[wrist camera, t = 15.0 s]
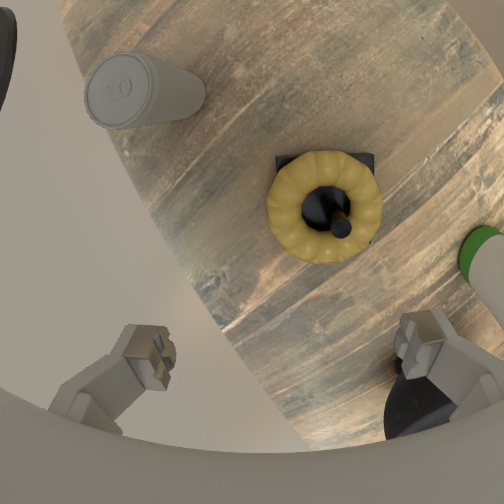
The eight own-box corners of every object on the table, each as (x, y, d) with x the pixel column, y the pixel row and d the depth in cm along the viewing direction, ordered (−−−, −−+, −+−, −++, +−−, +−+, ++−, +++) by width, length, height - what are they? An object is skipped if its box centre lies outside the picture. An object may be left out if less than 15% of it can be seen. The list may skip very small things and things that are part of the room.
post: (282, 243, 29) (284, 284, 23) (275, 155, 25) (275, 172, 18) (367, 238, 28) (390, 276, 21) (370, 152, 24) (400, 168, 17)
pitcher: (349, 373, 38) (370, 560, 12) (450, 276, 29) (557, 482, 3) (410, 394, 41) (440, 532, 15) (493, 319, 32) (563, 461, 6)
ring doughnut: (272, 256, 28) (271, 272, 26) (262, 152, 23) (260, 157, 21) (372, 250, 27) (381, 265, 24) (376, 148, 22) (388, 153, 20)
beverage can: (155, 78, 22) (78, 67, 11) (204, 66, 21) (149, 37, 10) (162, 124, 24) (88, 140, 13) (210, 114, 23) (159, 119, 13)
